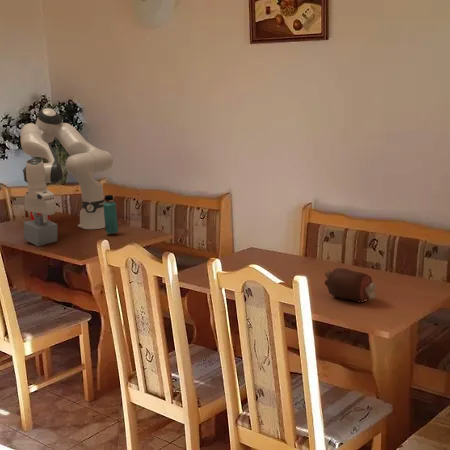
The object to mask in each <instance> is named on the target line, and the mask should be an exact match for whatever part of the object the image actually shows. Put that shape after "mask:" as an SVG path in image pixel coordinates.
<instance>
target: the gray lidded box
mask: <svg viewBox="0 0 450 450" xmlns="http://www.w3.org/2000/svg"><path fill="white" fill-rule="evenodd" d="M42 219H43V216H42V214H41V215H37V216H35V220H31V219H30V220H27V221H23V240H25V241H26V242H29V243H31V245H32V244H33V245H34V246H36V247H40V246H44V245H47V243H49V244H52V243H56V242H58V223H56V222H54V221H51V219H50V220H48V219H47V222H46V223H43V222H42Z"/></svg>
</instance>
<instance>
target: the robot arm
mask: <svg viewBox="0 0 450 450" xmlns="http://www.w3.org/2000/svg"><path fill="white" fill-rule="evenodd" d="M20 131H21V132H20V146H21V150H22V151H23V153H25V154H26V155H28V156H29V157H32V158H31V159H28V160H27V161H26V162H25V163H26V164H25V167H23V169H22V172H23V180H24V182H25V183H27V191H26V192H25V194H24V198H23V199H24V201H23V202H24V203H23V204H24V205H23V206H24V209H25V211H26V212H32V214H33V216H34V218H35V216H37V213H40V214H42V216H43V219H42V222H43V223H46V222H47V217H48V215H49V216H52V215H54V214H56V204H55V199H54V198H55V193H53V192H52V191H50V190H49V189H48V185H47V184H48V183H50V184H55V183H56V184H57V183H59V182H61V181H62V179H63V178H64V170H63V166H62V165H61V163H60V162H59V159H58V158H57V155H56V154H55V151H54V149H53V147H52V145H53V143H54V142H55V138H56V139H57V140H58V141H59V143H60V144H61V145H62V147H63V148H64V149H65V151H66V152H67V153H68V155H70V156H68V157H67V158H66V162H65V167H66V168H65V169H66V171H67V172H68V173H69V174H70V175H71V176H73V177H74V178H75V179H76V181H78V183H79V186H80V187H79V188H80V193H81V208H82V209H81V210H80V211H79V224H77V227H78V228H81V229H84V230H98V229H99V230H100V229H105V218H104V207H103V204H104V203H105V202H107V200H105V196H104V186H103V184H102V183H101V182H100V181H98V180H96V179H95V178H94V176H93V174H96V173H102V172H105V171H107V170H110V169H111V168H112V166H113V165H114V164H113V163H114V162H113V161H114V159H113V156H112V154H111V153H110V151H107V150H104V149H100V148H98V147H96V146H94V145H92V144H91V143H90V142H88V141H87V140H86V139H85V137H83V136H82V135H81V133H80V132H79V131H78V130H77V129H76V128H75V127H74V126H73V125H72V124H70V123H68V122H63V118H62V116H60V114H59V113H58V111H56V109H54V108H51V107H43V108H40V110H39V112H38V114H37V119H36V122H35V123H32V122H31V123H25V125H23V126H22V128H21V130H20ZM33 157H35V158H33ZM41 158H42V159H46V160H47V161H48V162H43V160H42V159H41Z"/></svg>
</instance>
